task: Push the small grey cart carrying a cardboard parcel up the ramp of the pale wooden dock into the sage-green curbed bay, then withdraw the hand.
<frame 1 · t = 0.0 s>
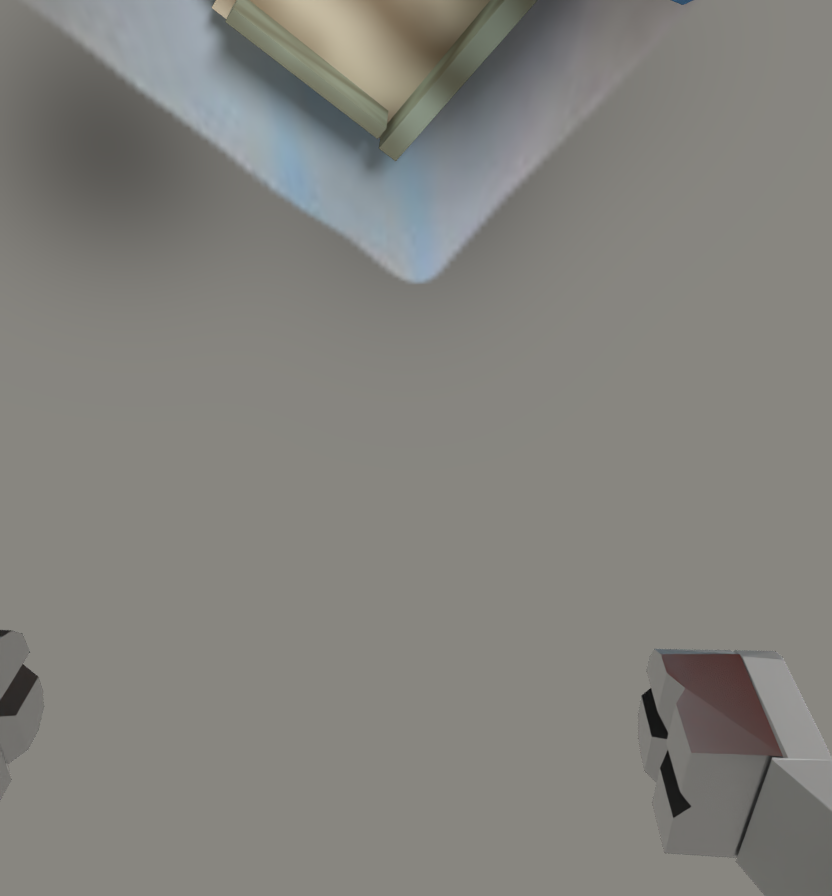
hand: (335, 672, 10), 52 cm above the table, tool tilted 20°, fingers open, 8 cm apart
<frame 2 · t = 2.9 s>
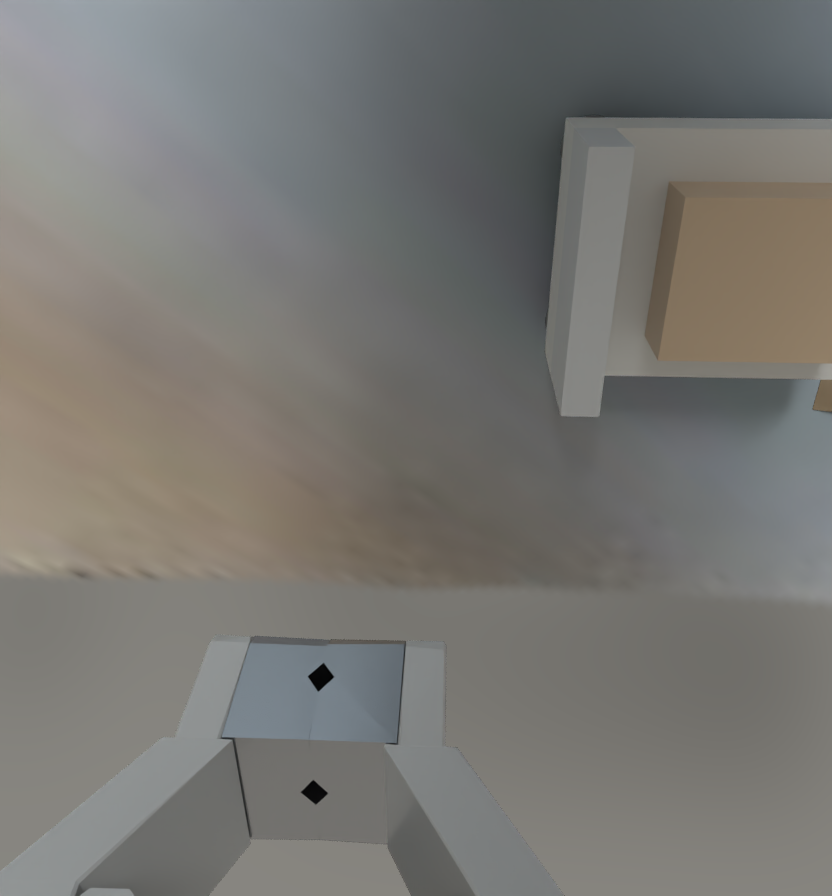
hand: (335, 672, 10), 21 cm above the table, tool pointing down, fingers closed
cart: (691, 232, 28), on the table
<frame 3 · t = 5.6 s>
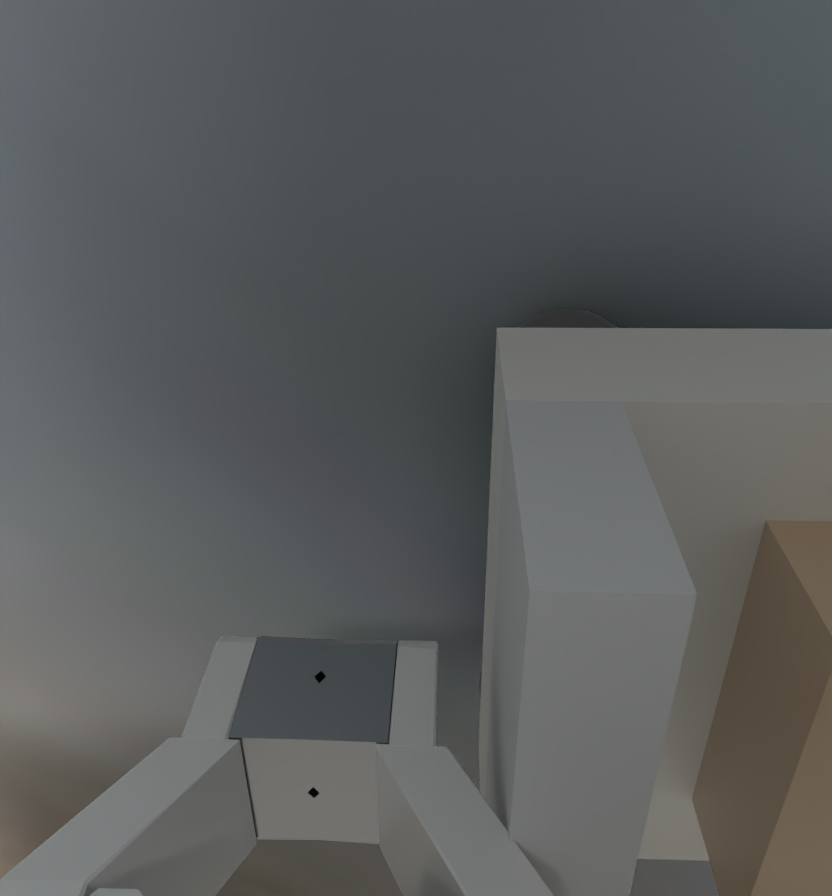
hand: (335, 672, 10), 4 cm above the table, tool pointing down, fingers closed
cart: (784, 519, 13), on the table, touching gripper
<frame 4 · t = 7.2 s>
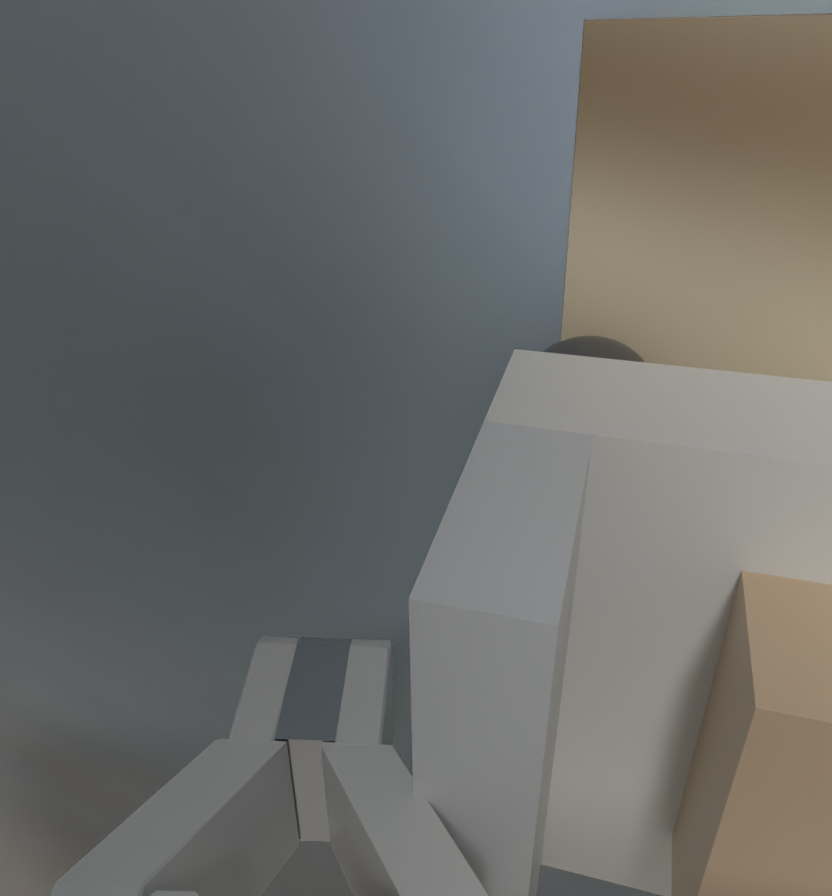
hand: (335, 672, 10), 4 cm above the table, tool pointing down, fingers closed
cart: (828, 574, 13), point 1 cm above the table, tilted 13°, touching dock, gripper
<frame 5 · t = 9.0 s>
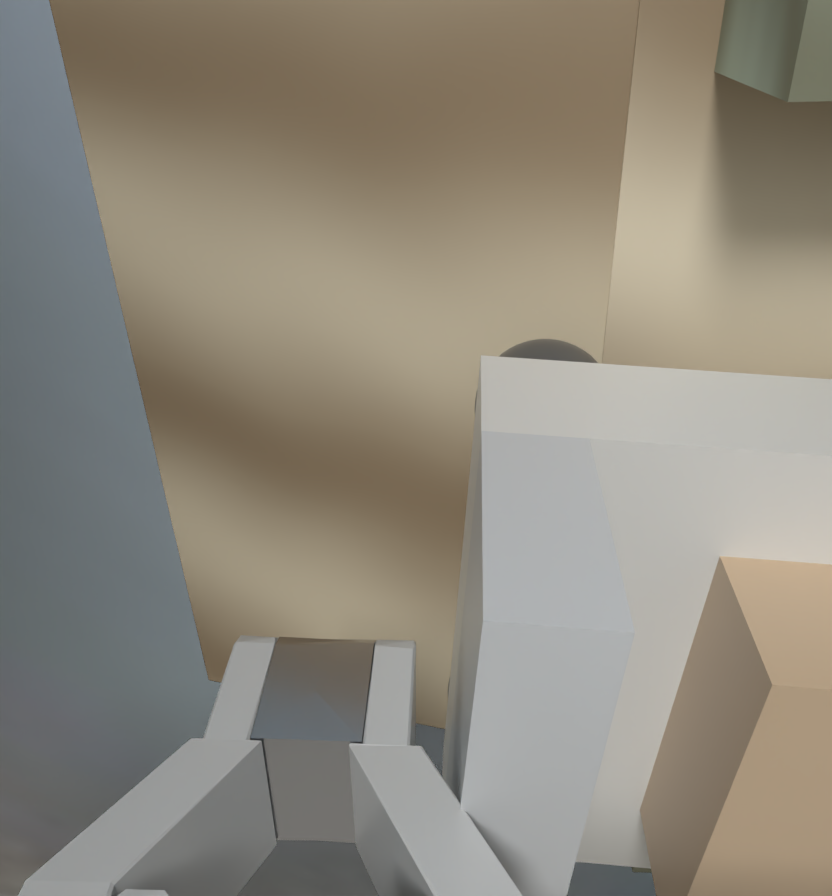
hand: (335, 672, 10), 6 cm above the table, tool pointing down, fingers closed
dock: (796, 418, 14), on the table
cart: (748, 548, 14), point 2 cm above the table, touching dock, gripper
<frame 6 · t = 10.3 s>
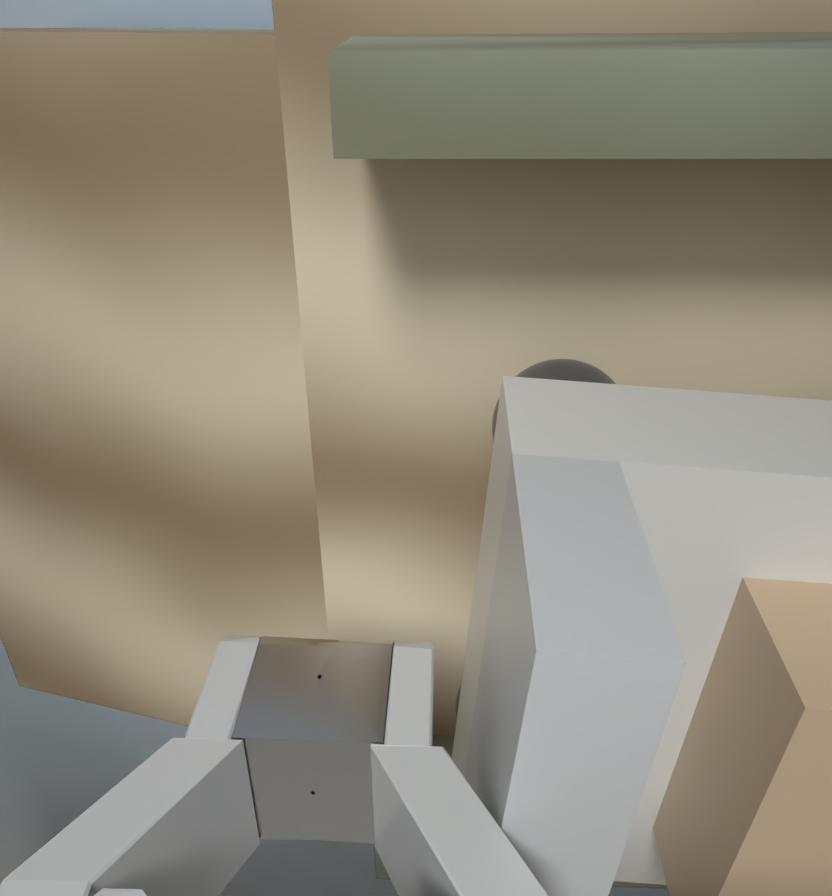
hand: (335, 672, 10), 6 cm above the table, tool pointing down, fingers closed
dock: (540, 442, 15), on the table
cart: (754, 564, 14), point 2 cm above the table, touching dock, gripper
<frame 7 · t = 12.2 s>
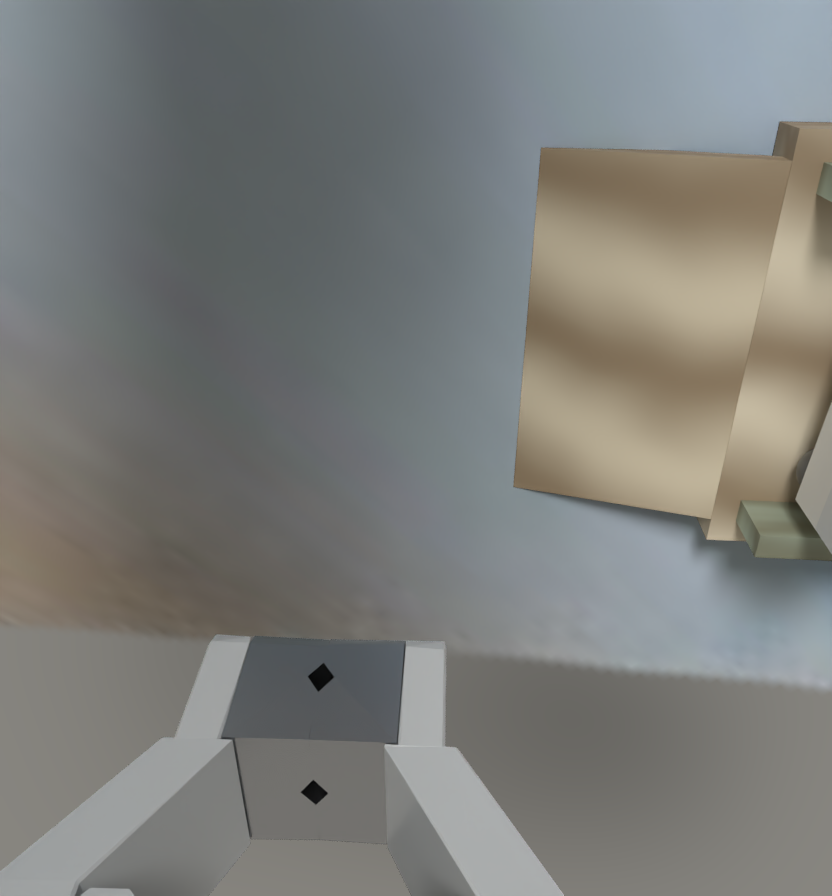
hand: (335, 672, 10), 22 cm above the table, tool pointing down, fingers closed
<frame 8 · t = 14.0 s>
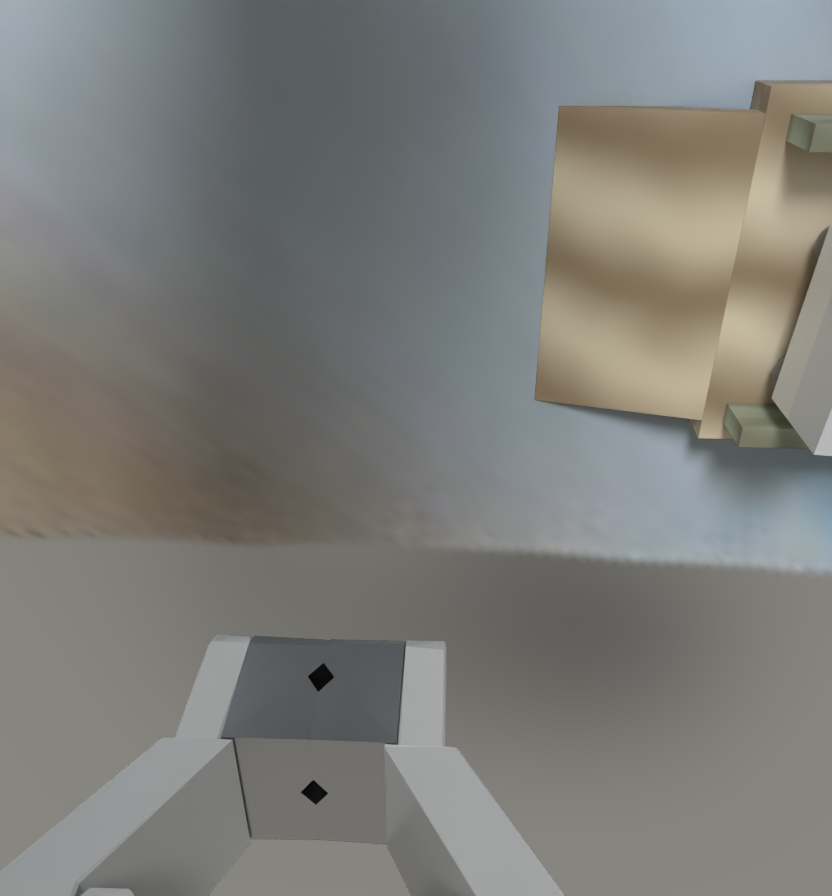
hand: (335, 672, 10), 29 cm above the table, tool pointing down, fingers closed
dock: (805, 270, 37), on the table
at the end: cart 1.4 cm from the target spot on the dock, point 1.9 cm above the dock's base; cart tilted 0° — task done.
